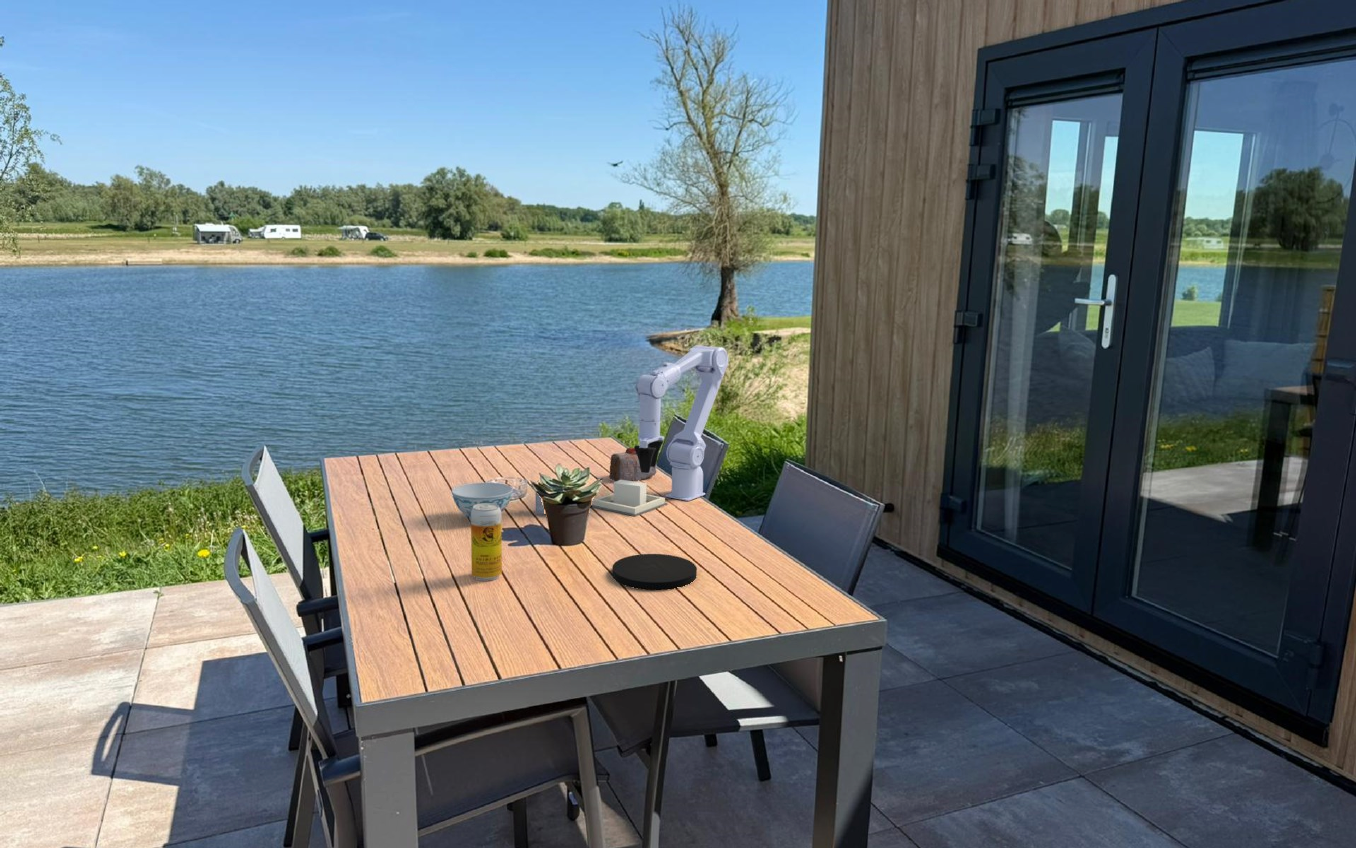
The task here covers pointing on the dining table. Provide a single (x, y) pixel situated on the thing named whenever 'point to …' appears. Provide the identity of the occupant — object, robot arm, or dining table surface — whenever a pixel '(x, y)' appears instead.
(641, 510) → the shallow square tray
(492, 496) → the chinaware
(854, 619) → the dining table surface
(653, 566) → the wireless charger
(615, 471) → the food item
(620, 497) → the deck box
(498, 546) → the beer can
